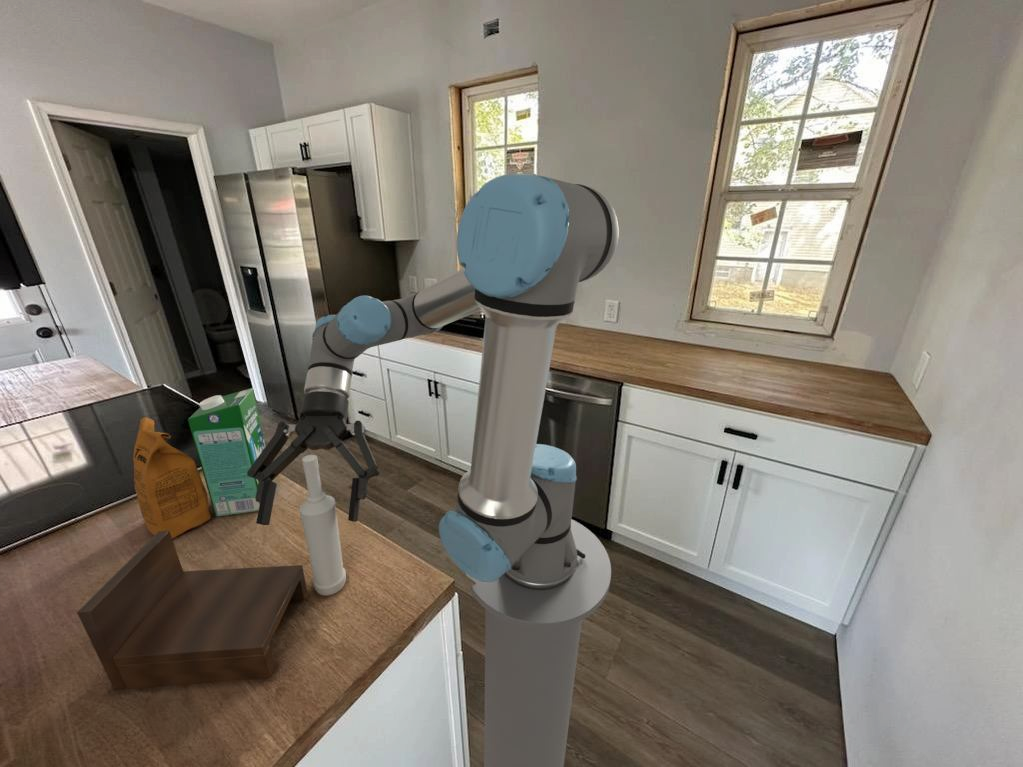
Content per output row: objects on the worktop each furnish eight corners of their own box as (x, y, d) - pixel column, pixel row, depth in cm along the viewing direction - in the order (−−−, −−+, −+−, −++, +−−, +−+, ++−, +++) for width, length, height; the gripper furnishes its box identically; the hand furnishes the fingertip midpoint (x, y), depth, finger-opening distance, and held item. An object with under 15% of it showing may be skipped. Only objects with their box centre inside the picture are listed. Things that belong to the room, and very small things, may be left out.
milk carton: (230, 491, 94) (203, 390, 85) (274, 486, 96) (253, 387, 87) (215, 517, 85) (184, 408, 77) (263, 510, 88) (238, 404, 79)
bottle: (353, 580, 71) (335, 455, 62) (327, 601, 67) (304, 471, 58) (334, 568, 74) (314, 446, 65) (307, 587, 70) (282, 460, 61)
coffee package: (199, 497, 91) (172, 407, 83) (218, 522, 84) (191, 426, 76) (141, 519, 84) (106, 423, 76) (157, 549, 77) (120, 446, 69)
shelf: (307, 592, 69) (294, 525, 64) (270, 678, 56) (250, 601, 51) (182, 599, 67) (158, 530, 62) (114, 690, 54) (76, 612, 49)
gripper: (401, 404, 78) (393, 521, 69) (262, 405, 75) (236, 527, 67) (394, 388, 71) (384, 516, 62) (241, 389, 68) (209, 523, 60)
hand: (308, 522), depth 65 cm, fingers open, 13 cm apart
